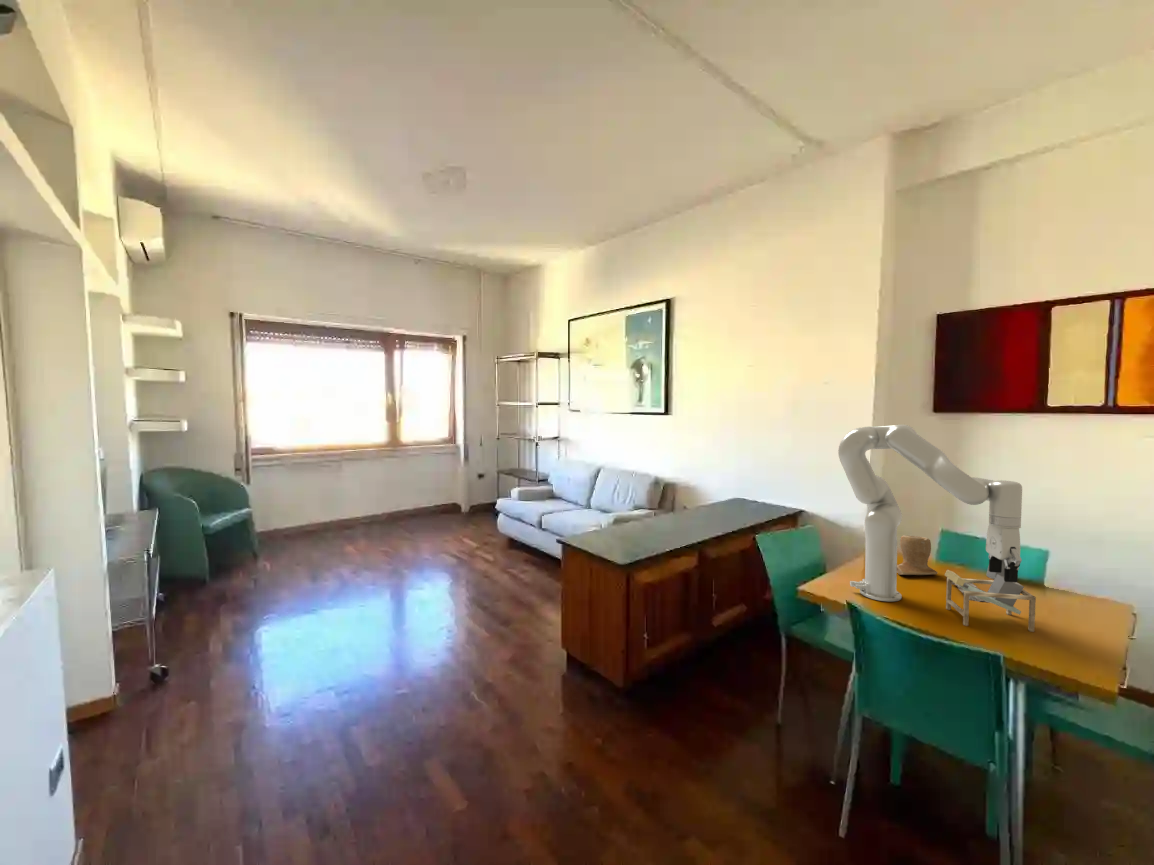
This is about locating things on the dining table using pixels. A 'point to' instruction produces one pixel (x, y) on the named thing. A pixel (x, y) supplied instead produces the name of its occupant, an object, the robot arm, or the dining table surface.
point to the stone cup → (915, 556)
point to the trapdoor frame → (965, 610)
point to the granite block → (1005, 589)
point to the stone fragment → (969, 595)
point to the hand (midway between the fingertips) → (1002, 576)
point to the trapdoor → (966, 587)
